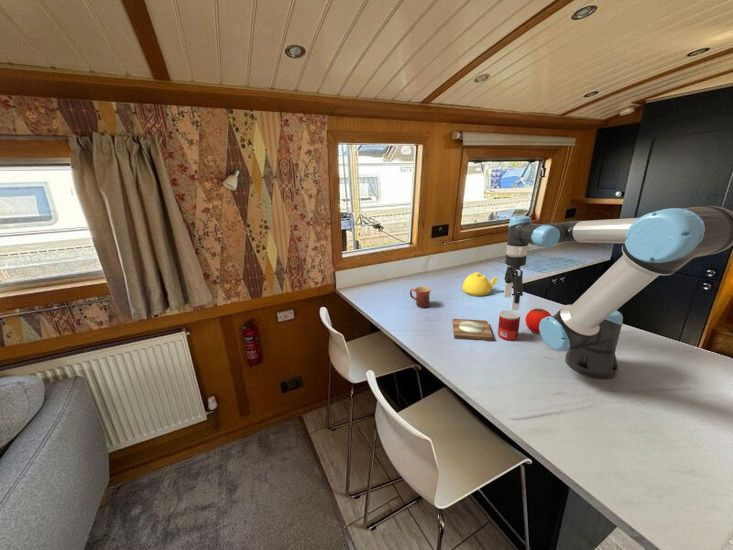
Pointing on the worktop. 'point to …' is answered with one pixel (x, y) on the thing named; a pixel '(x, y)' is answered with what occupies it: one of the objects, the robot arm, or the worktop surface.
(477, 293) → the teapot
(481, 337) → the board
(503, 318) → the canned food
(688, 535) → the worktop surface
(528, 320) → the tomato
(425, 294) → the mug
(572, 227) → the robot arm
